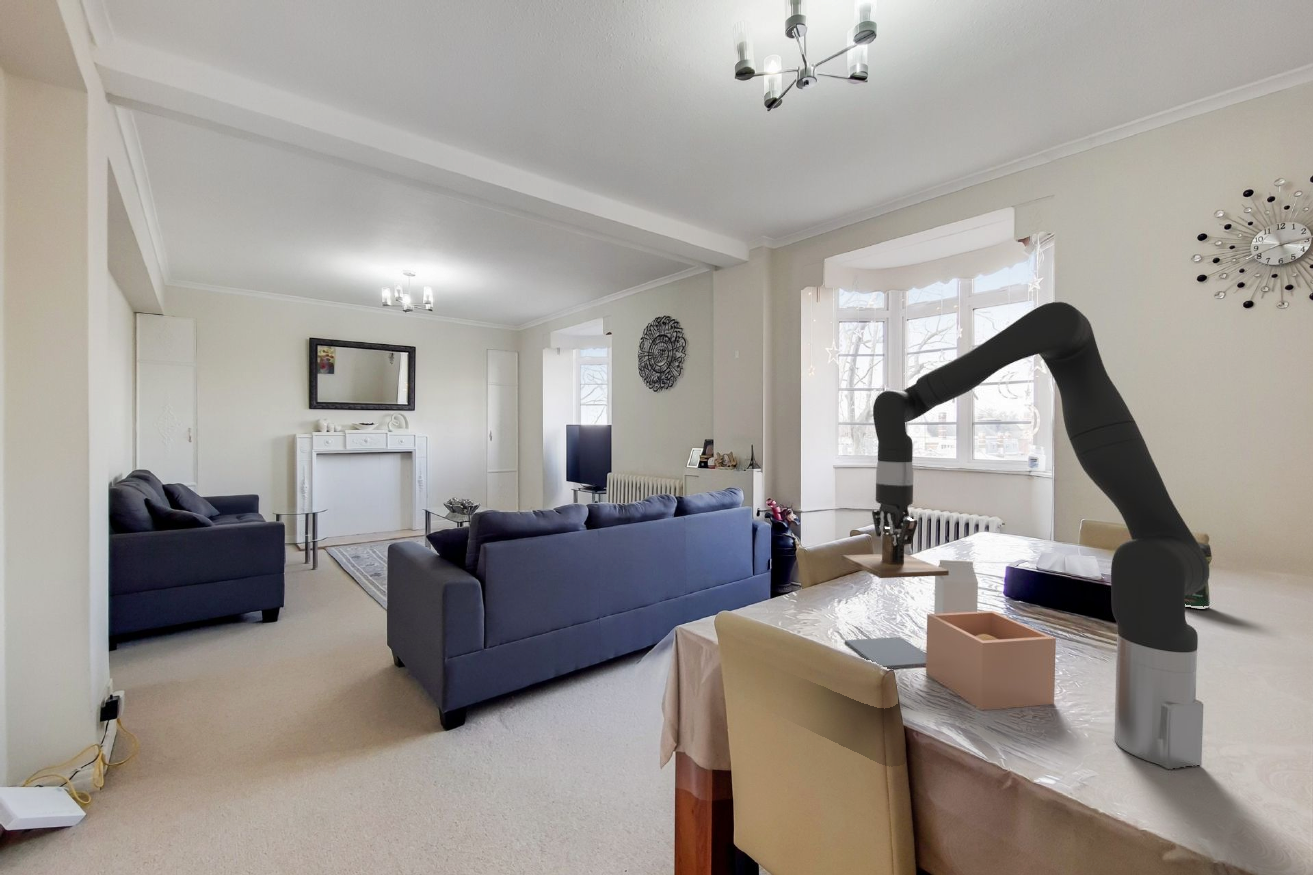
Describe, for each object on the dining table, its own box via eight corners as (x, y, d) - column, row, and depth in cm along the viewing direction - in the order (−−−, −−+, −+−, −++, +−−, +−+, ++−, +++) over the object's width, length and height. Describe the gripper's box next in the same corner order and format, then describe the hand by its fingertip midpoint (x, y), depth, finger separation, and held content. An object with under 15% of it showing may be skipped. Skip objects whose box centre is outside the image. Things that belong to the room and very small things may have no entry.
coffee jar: (1161, 604, 159) (1163, 539, 159) (1165, 598, 164) (1167, 536, 164) (1208, 612, 152) (1210, 545, 151) (1211, 606, 157) (1213, 541, 157)
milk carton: (976, 648, 125) (978, 565, 125) (942, 645, 127) (944, 563, 126) (965, 637, 132) (967, 557, 132) (933, 634, 134) (935, 556, 133)
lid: (948, 575, 116) (949, 541, 115) (880, 578, 113) (881, 543, 113) (903, 557, 131) (903, 528, 131) (842, 559, 128) (842, 529, 128)
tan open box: (1054, 703, 101) (1055, 638, 100) (981, 710, 98) (982, 643, 98) (990, 667, 115) (992, 610, 115) (925, 672, 113) (927, 614, 113)
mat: (940, 664, 117) (940, 661, 117) (879, 669, 114) (879, 666, 114) (900, 639, 131) (900, 636, 131) (844, 642, 128) (845, 640, 128)
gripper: (930, 485, 115) (929, 567, 116) (891, 478, 129) (889, 552, 130) (898, 485, 114) (896, 569, 114) (861, 478, 128) (859, 553, 128)
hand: (892, 559), depth 122 cm, fingers closed on lid, 3 cm apart
